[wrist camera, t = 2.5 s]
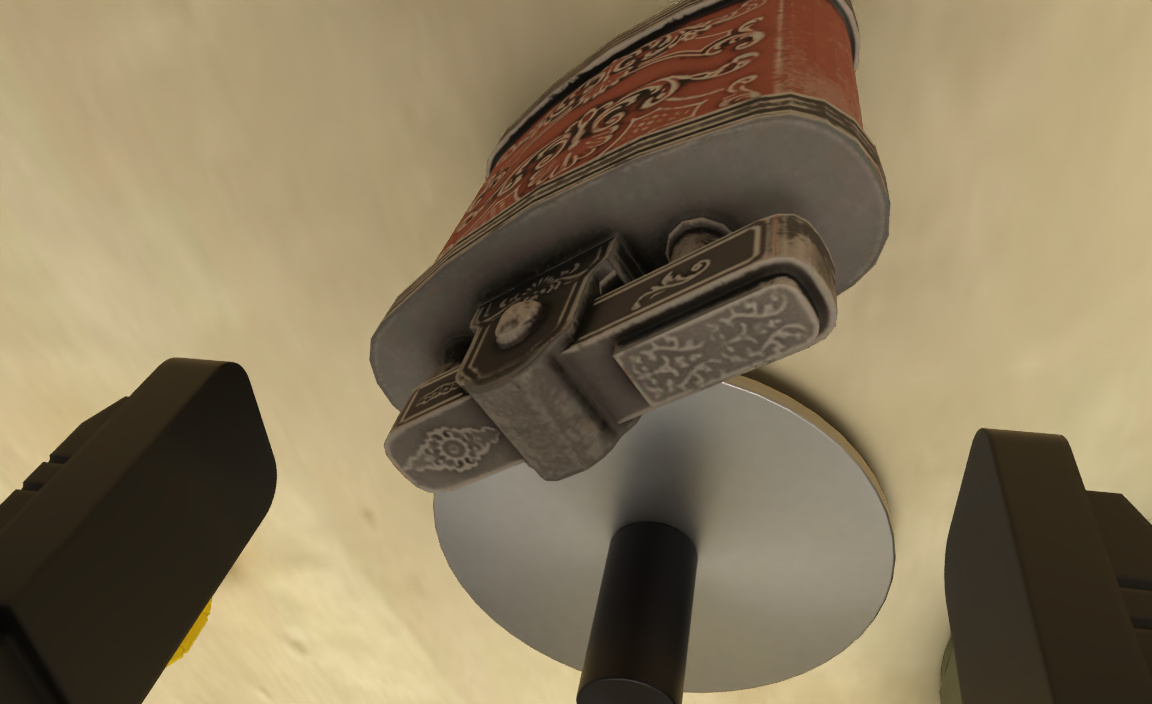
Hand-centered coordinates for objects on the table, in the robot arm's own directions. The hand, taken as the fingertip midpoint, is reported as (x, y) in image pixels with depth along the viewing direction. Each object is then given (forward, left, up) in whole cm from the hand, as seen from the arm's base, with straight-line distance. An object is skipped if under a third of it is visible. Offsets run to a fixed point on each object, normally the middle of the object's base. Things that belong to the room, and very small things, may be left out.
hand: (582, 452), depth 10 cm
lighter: (0, 0, -11) cm, 11 cm away
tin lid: (0, -12, -10) cm, 16 cm away
